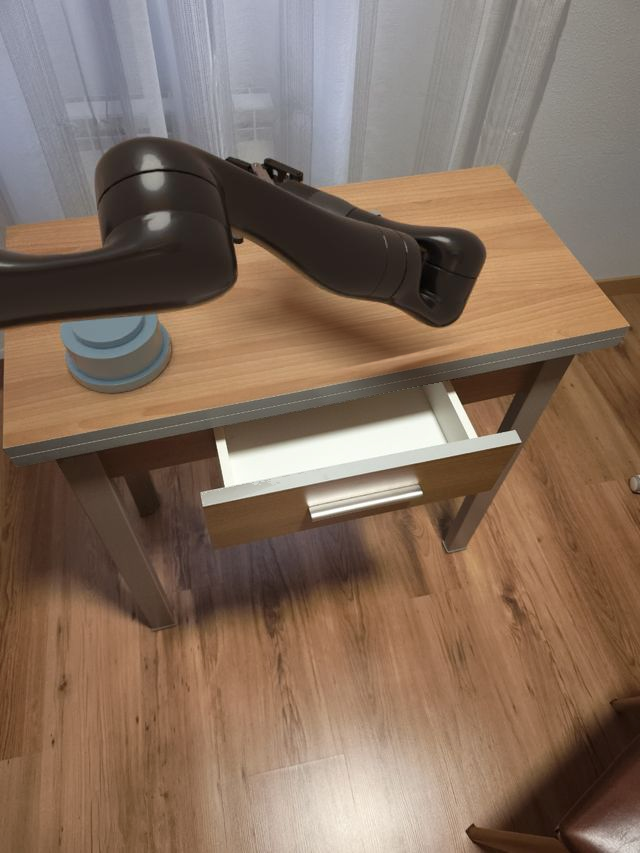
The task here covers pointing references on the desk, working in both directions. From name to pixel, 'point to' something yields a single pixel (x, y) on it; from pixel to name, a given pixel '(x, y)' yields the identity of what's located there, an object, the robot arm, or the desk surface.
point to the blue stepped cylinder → (116, 352)
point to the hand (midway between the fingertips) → (205, 179)
